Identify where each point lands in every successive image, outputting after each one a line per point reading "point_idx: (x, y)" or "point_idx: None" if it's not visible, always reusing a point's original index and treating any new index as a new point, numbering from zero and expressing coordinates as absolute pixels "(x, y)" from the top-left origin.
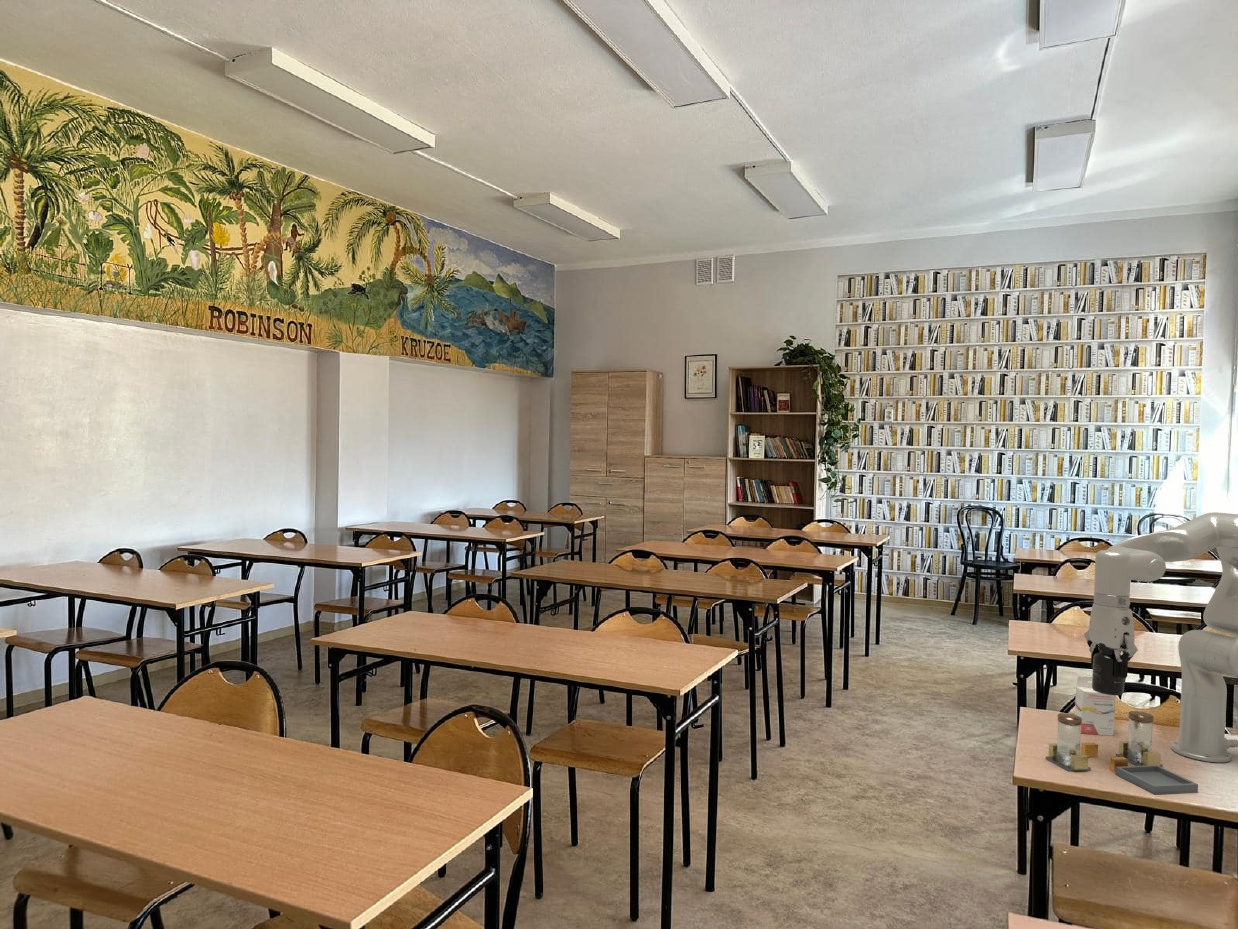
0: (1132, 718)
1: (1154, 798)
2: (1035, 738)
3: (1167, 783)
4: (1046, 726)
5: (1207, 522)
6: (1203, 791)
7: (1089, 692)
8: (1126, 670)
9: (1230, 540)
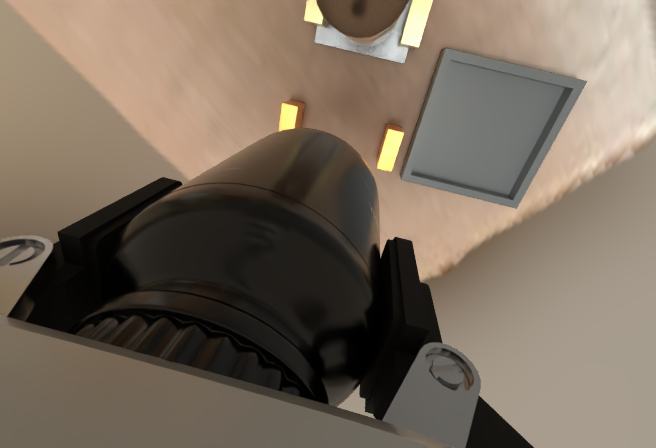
0: (355, 37)
1: (518, 219)
2: (170, 141)
3: (507, 121)
4: (80, 16)
5: None
6: (583, 54)
7: None
8: (431, 304)
9: None
